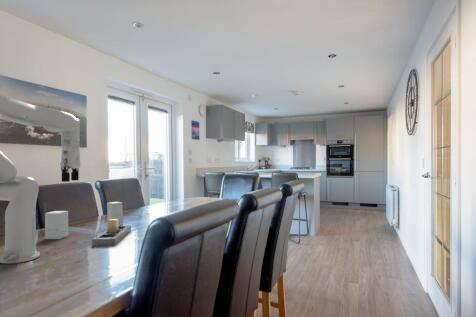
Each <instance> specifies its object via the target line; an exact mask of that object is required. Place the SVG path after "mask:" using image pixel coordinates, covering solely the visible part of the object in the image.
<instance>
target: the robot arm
mask: <svg viewBox="0 0 476 317" xmlns="http://www.w3.org/2000/svg"><path fill="white" fill-rule="evenodd" d="M0 120H2V121H3V120H4V121H8V122H13V123H16V124H18V125H23V126H29V127H43V129H44V130H45V131H47V132H50V133H61V134H60V135H61V136H60V138H61V139H60V141H61V142H60V144H61V145H60V148H61V155H60V156H61V159H60V161H61V162H60V173H61V182H65V183H66V182H67V183H69V182H70V180H71V181H79V179H80V178H79V177H80V176H79V175H80V173H79V172H80V168H81V154H80V153H81V152H80V147H81V145H80V144H81V143H80V133H81V132H80V128H81V127H80V122H81V121H80V119H79V118H76V116H74V115H73V114H71V113H69V112H66V111H62V110H58V109H55V108H54V109H53V108H48V107H44V106H39V105H34V104H31V103H28V102H25V101H22V100H19V99H15V98H12V97H10V96H6V95H2V94H0ZM70 170H71V172H70ZM70 173H71V174H70ZM39 189H40V186H39V183H38V181H37V180H36V179H34V178H33V177H30V176H27V175H18V168H17V166H16V165H15V164H14V163H13V161H12V160H11V159H10V158H8V157H7V156H6V155H5V153H3V151H1V150H0V201H7V202H8V201H9V202H8V205H7V207H6V209H5V212H4V231H5V232H4V252H3V254H2V255H0V263H1V264H6V265H7V264H18V263H26V262H29V261H33V260H35V259H38V258H40V256H41V252H40V251H37V250H36V239H37V238H36V231H37V230H36V228H37V226H36V225H37V224H36V222H37V221H36V207H37V199H38V196H39V191H40V190H39Z"/></svg>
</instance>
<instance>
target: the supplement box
mask: <svg viewBox="0 0 476 317" xmlns="http://www.w3.org/2000/svg"><path fill="white" fill-rule="evenodd" d="M44 237H45V238H44V240H61V239H63V238H66V237H69V210H54V211H48V212H45V213H44Z"/></svg>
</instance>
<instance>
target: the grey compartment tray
mask: <svg viewBox="0 0 476 317" xmlns="http://www.w3.org/2000/svg"><path fill="white" fill-rule="evenodd" d="M131 231H132V227H131V225H123V226H119V232H118V233H107V228H106V229H105V230H104V231H102V232H101V233H99V234H98V235H96V236H95V237H93V238H92V239H91V247H106V246H107V247H108V246H110V247H111V246H117V245H118V244H119V243H120V242H121V241H122V240H123V239H124V238H125V237H126V236H127V235H128V234H130V232H131Z"/></svg>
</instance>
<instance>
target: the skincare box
mask: <svg viewBox="0 0 476 317" xmlns="http://www.w3.org/2000/svg"><path fill="white" fill-rule="evenodd" d="M106 211H107V212H106V214H107V220H109V219H119V226H124V215H123V214H124V213H123V211H124V210H123V202H122V201H121V202H120V201H112V202H111V201H109V202H107V203H106Z"/></svg>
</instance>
